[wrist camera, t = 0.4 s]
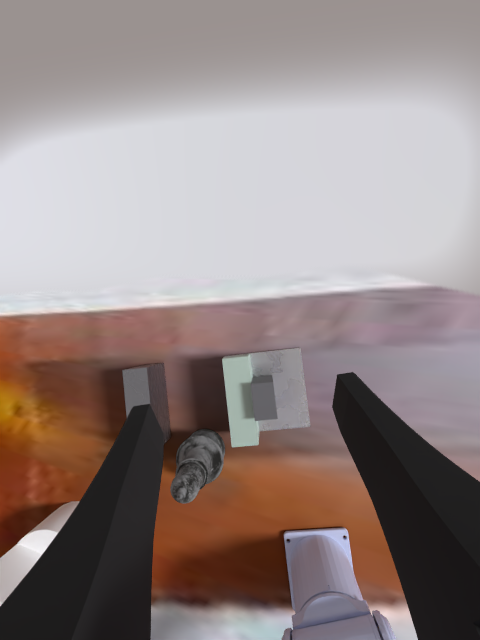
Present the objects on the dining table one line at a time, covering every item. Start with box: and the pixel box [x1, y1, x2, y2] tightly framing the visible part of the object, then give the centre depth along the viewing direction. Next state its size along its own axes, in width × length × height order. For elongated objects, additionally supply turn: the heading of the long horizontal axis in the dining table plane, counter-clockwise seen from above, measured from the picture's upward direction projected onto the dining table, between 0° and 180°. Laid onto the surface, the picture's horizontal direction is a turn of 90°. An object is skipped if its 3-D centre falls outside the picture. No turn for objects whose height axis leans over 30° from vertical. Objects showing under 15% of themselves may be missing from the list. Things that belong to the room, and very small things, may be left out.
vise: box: [122, 348, 310, 444], centre depth 37 cm, size 10×22×6 cm, turn 97°
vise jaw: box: [222, 354, 278, 447], centre depth 35 cm, size 10×6×6 cm, turn 7°
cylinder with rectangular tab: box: [0, 501, 80, 606], centre depth 35 cm, size 9×9×12 cm
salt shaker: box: [171, 429, 225, 503], centre depth 34 cm, size 6×6×12 cm
